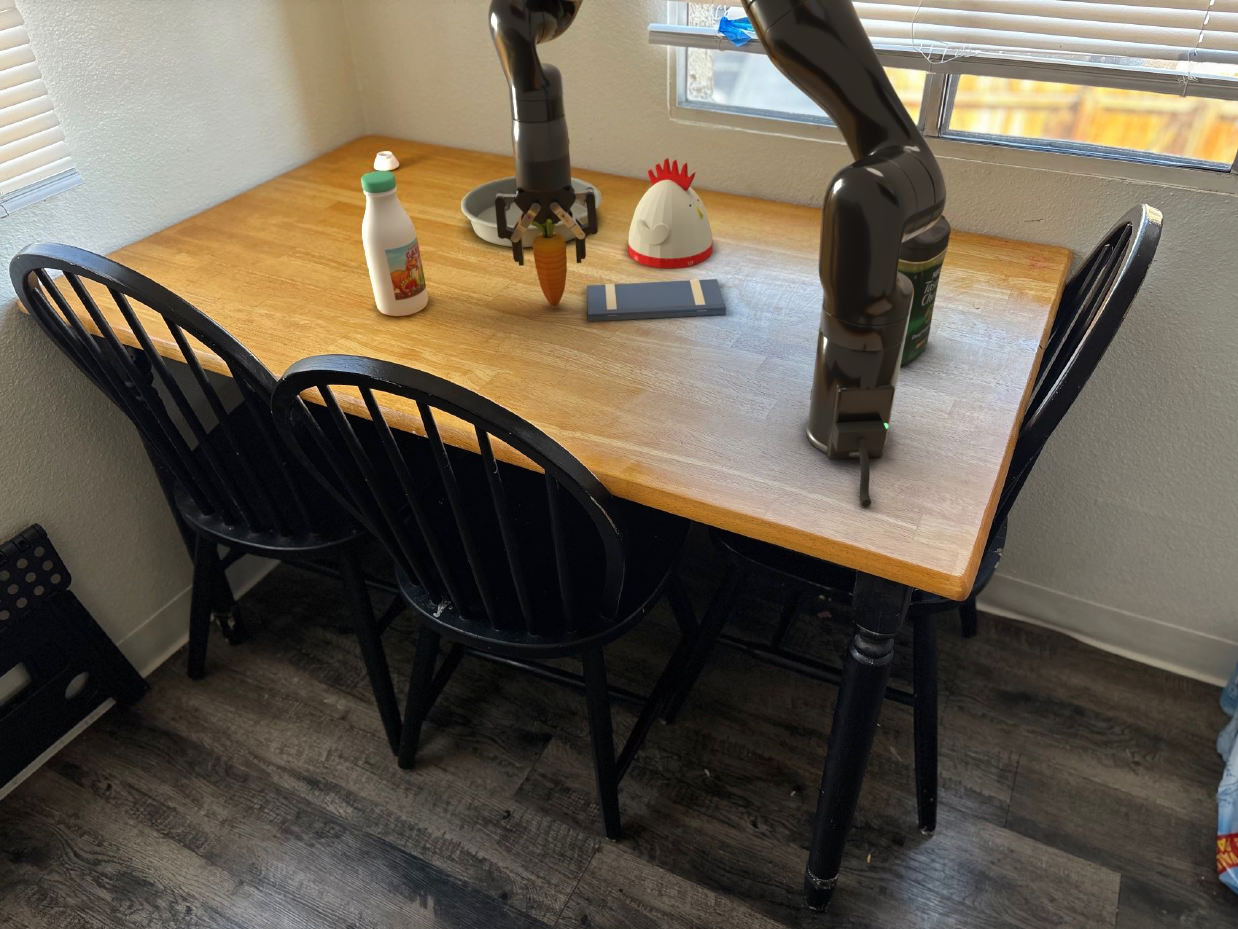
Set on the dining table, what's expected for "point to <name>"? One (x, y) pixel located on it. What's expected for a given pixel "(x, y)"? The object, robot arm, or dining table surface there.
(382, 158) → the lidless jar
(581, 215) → the cake pan
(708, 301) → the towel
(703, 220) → the kitchen timer
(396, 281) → the milk bottle
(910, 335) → the coffee jar
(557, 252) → the carrot
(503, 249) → the dining table surface
